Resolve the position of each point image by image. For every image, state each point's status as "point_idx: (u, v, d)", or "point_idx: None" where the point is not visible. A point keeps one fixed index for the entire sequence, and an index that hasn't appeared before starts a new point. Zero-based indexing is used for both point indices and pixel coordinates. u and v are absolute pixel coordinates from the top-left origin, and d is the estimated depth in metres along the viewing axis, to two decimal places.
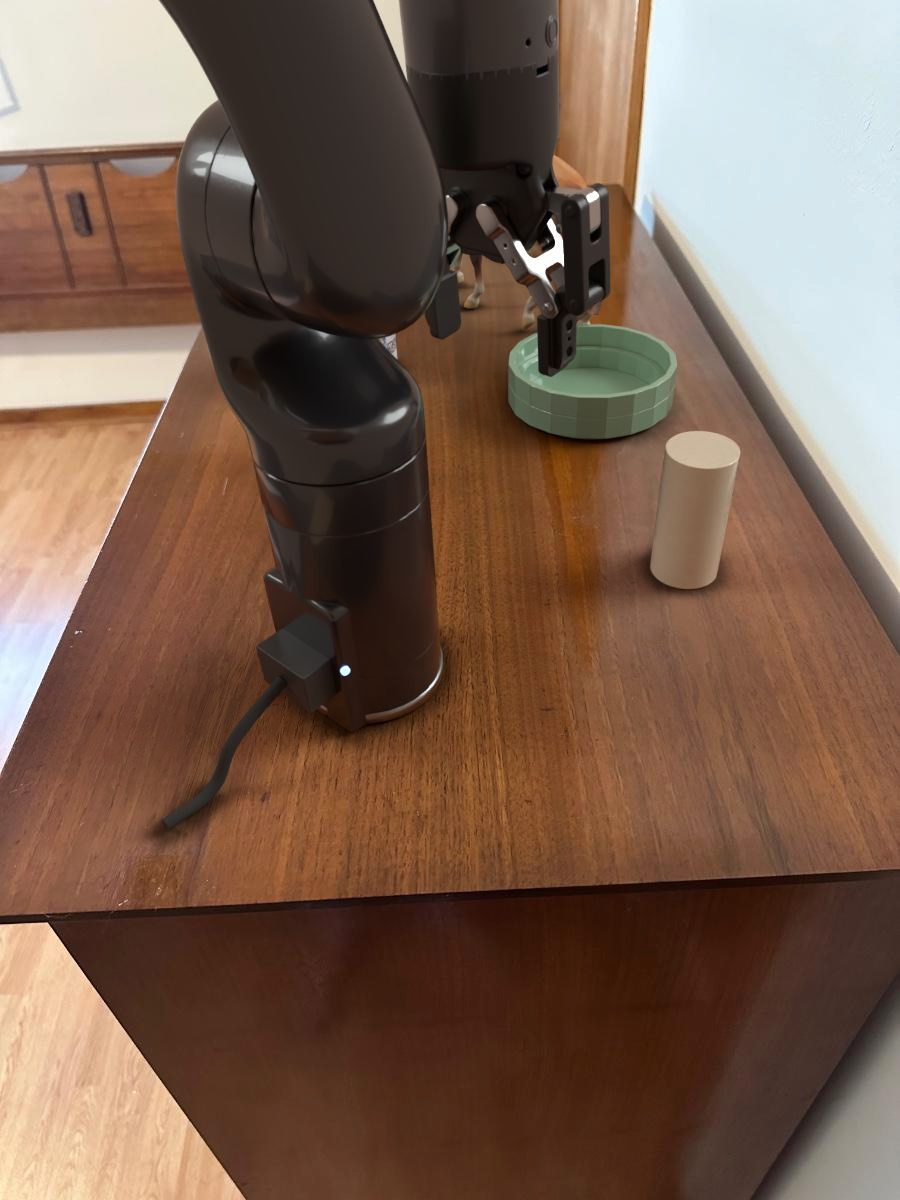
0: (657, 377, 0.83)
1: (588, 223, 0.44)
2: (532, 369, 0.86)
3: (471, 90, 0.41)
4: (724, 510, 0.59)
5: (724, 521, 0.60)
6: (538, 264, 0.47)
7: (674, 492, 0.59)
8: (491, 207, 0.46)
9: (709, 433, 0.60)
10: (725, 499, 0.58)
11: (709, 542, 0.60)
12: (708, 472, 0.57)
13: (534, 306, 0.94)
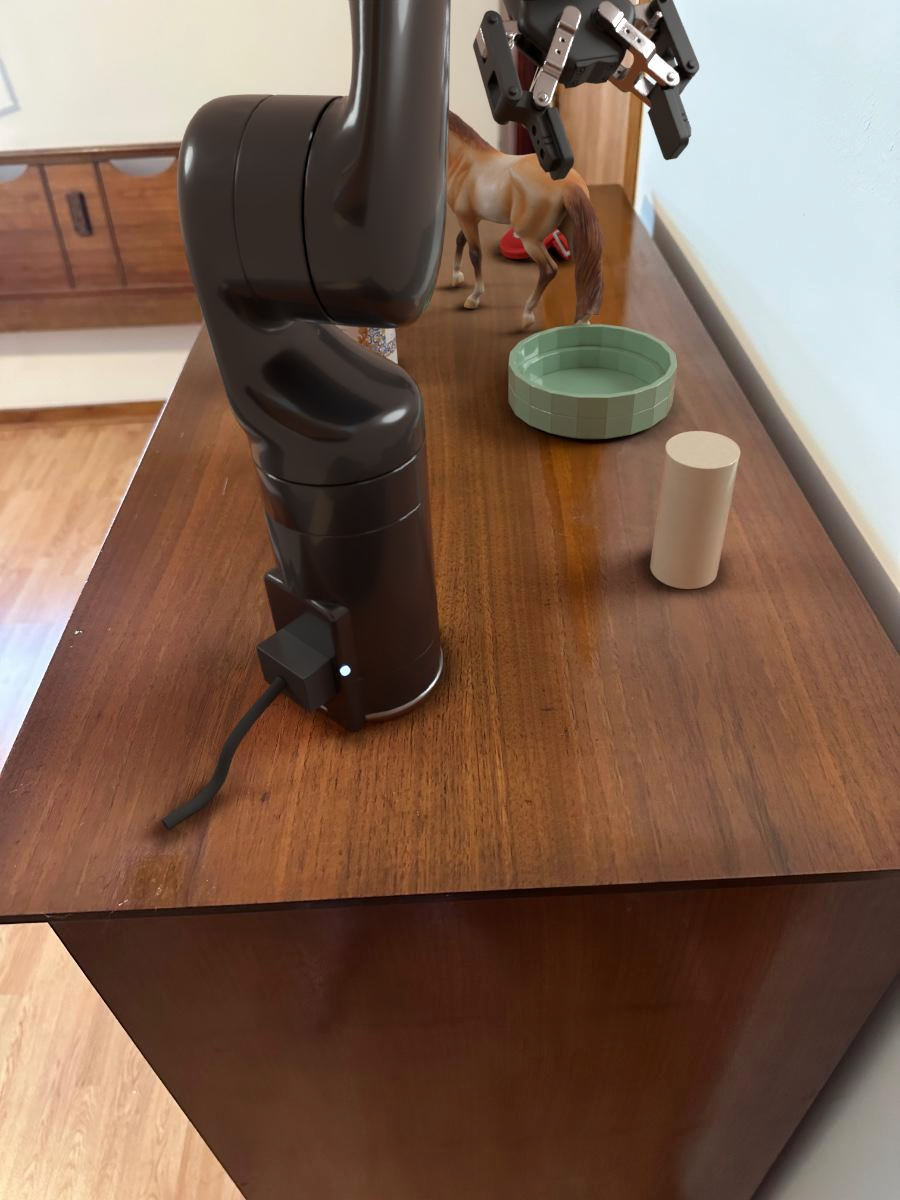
0: (657, 377, 0.83)
1: None
2: (532, 369, 0.86)
3: None
4: (724, 510, 0.59)
5: (724, 521, 0.60)
6: None
7: (674, 492, 0.59)
8: (609, 3, 0.56)
9: (709, 433, 0.60)
10: (725, 499, 0.58)
11: (709, 542, 0.60)
12: (708, 472, 0.57)
13: (534, 306, 0.94)
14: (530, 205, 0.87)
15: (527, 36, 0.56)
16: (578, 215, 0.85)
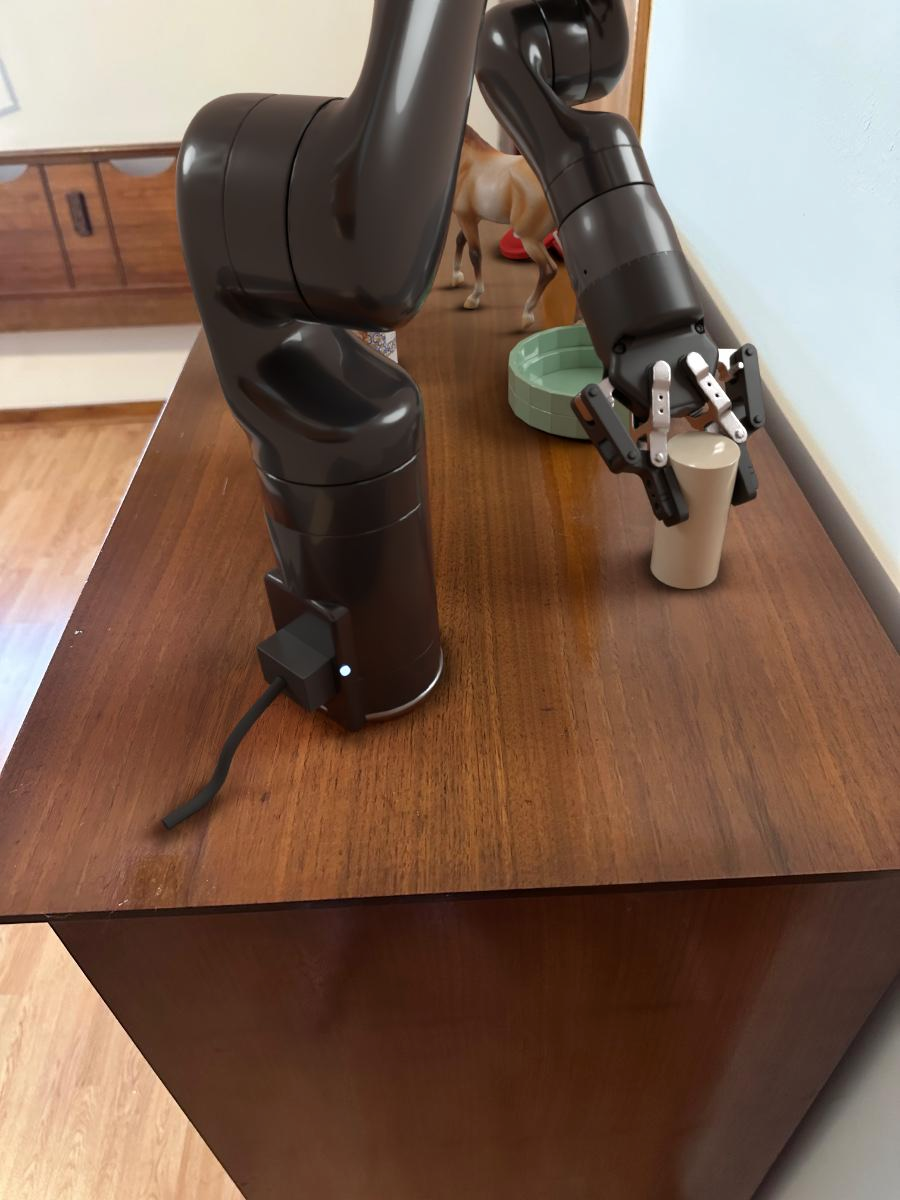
0: None
1: None
2: (532, 369, 0.86)
3: (682, 261, 0.58)
4: (724, 510, 0.59)
5: (724, 521, 0.60)
6: None
7: None
8: (698, 355, 0.59)
9: (709, 433, 0.60)
10: (725, 499, 0.58)
11: (709, 542, 0.60)
12: (708, 472, 0.57)
13: (534, 306, 0.94)
14: (530, 205, 0.87)
15: (618, 387, 0.58)
16: None
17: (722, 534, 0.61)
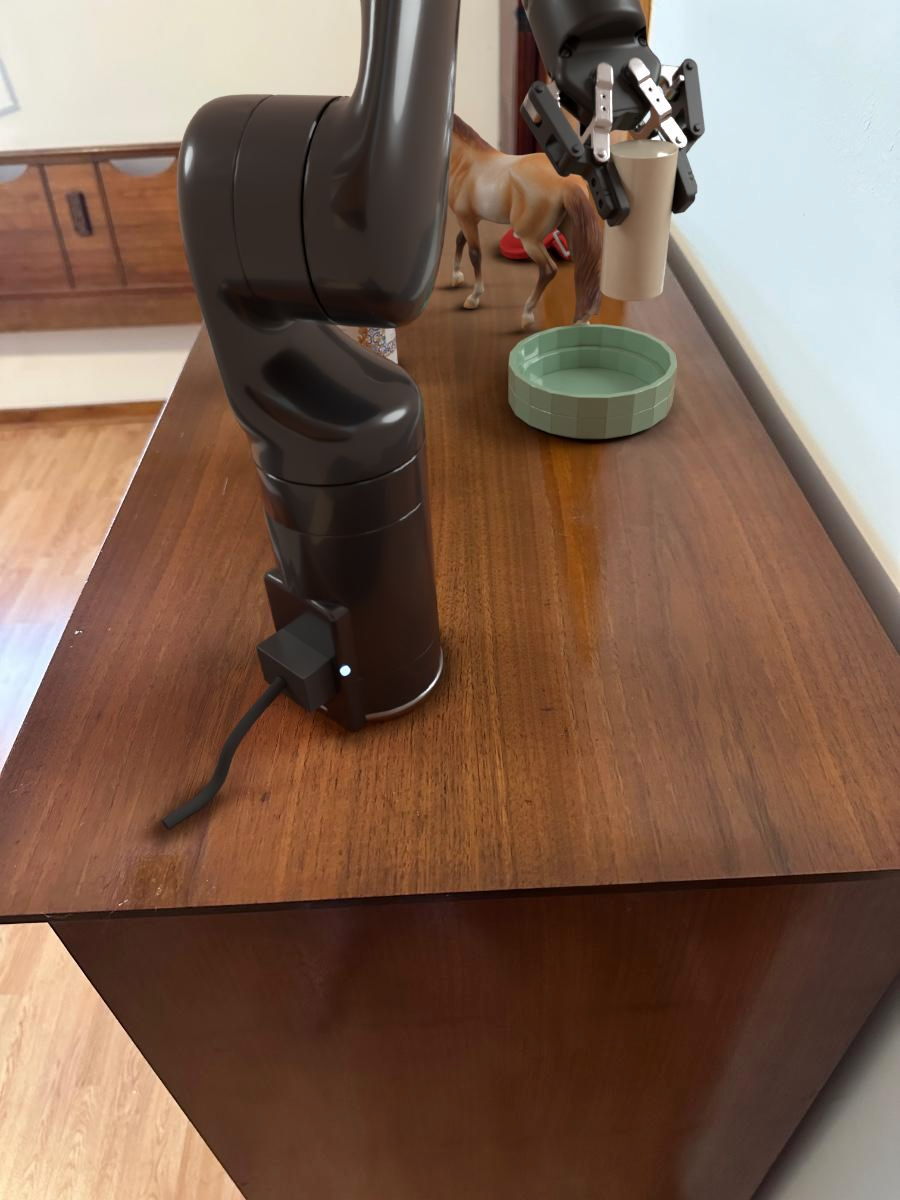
0: (657, 377, 0.83)
1: None
2: (532, 369, 0.86)
3: None
4: (664, 211, 0.63)
5: (665, 224, 0.64)
6: None
7: None
8: (640, 61, 0.62)
9: (651, 140, 0.63)
10: (665, 196, 0.62)
11: (651, 246, 0.64)
12: (647, 162, 0.60)
13: (533, 306, 0.94)
14: (529, 206, 0.87)
15: (564, 90, 0.62)
16: (578, 215, 0.85)
17: (664, 240, 0.65)
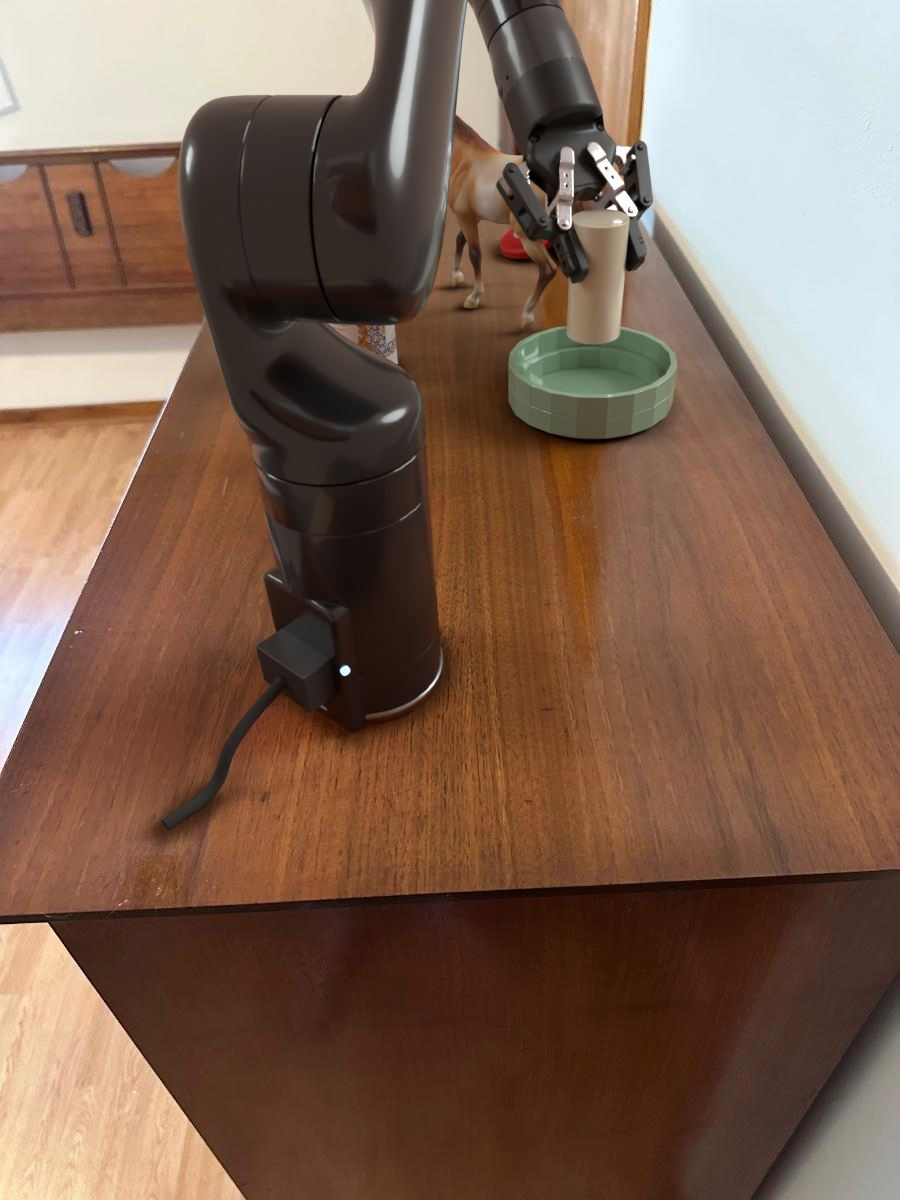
0: (657, 377, 0.83)
1: None
2: (532, 369, 0.86)
3: (583, 67, 0.73)
4: (618, 270, 0.74)
5: (620, 281, 0.75)
6: None
7: None
8: (597, 144, 0.74)
9: (607, 210, 0.75)
10: (618, 258, 0.74)
11: (608, 299, 0.76)
12: (602, 230, 0.72)
13: (533, 306, 0.94)
14: None
15: (533, 169, 0.73)
16: None
17: (619, 294, 0.76)
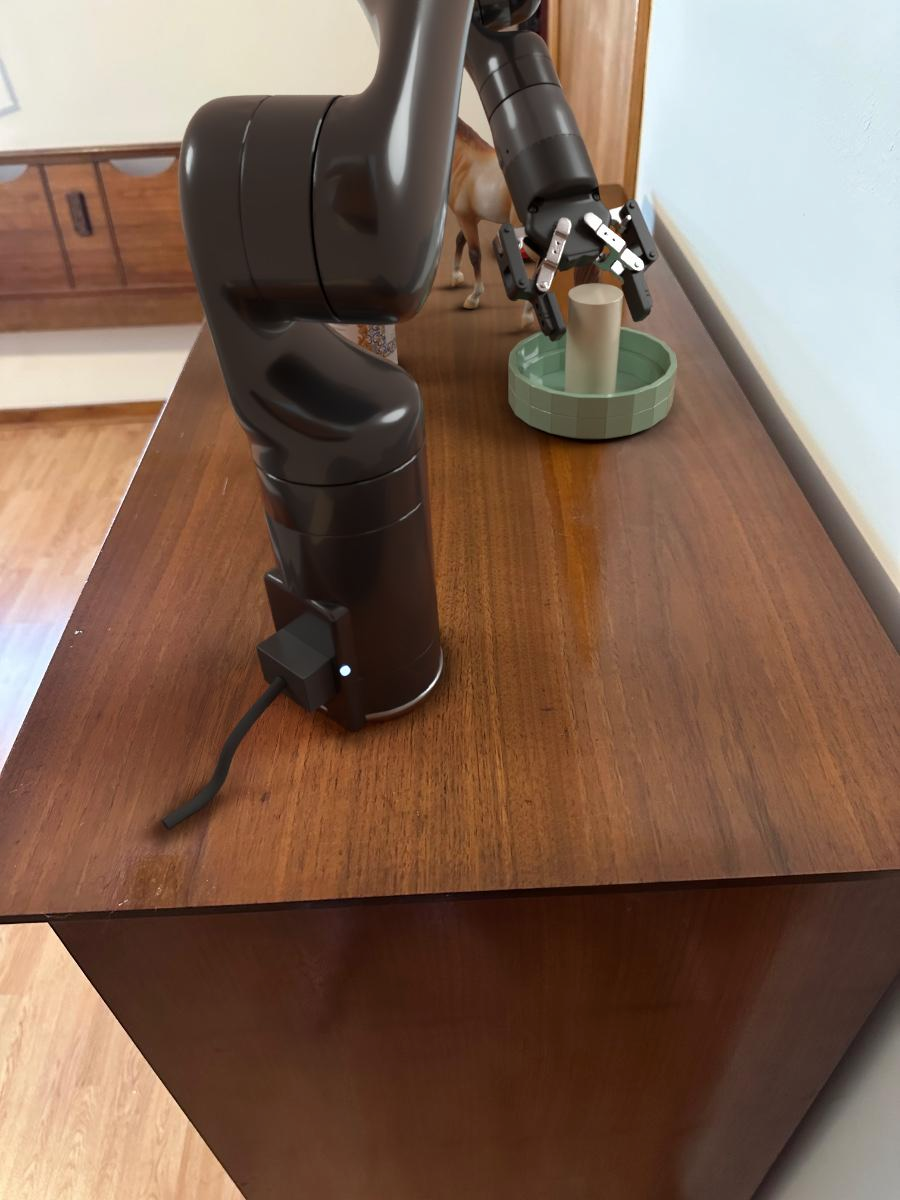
0: (657, 377, 0.83)
1: None
2: (532, 369, 0.86)
3: (580, 142, 0.76)
4: (613, 341, 0.79)
5: (614, 351, 0.79)
6: None
7: (575, 326, 0.78)
8: (592, 214, 0.77)
9: (602, 284, 0.79)
10: (613, 331, 0.78)
11: (603, 368, 0.80)
12: (597, 307, 0.76)
13: None
14: None
15: (532, 238, 0.77)
16: None
17: (613, 363, 0.80)
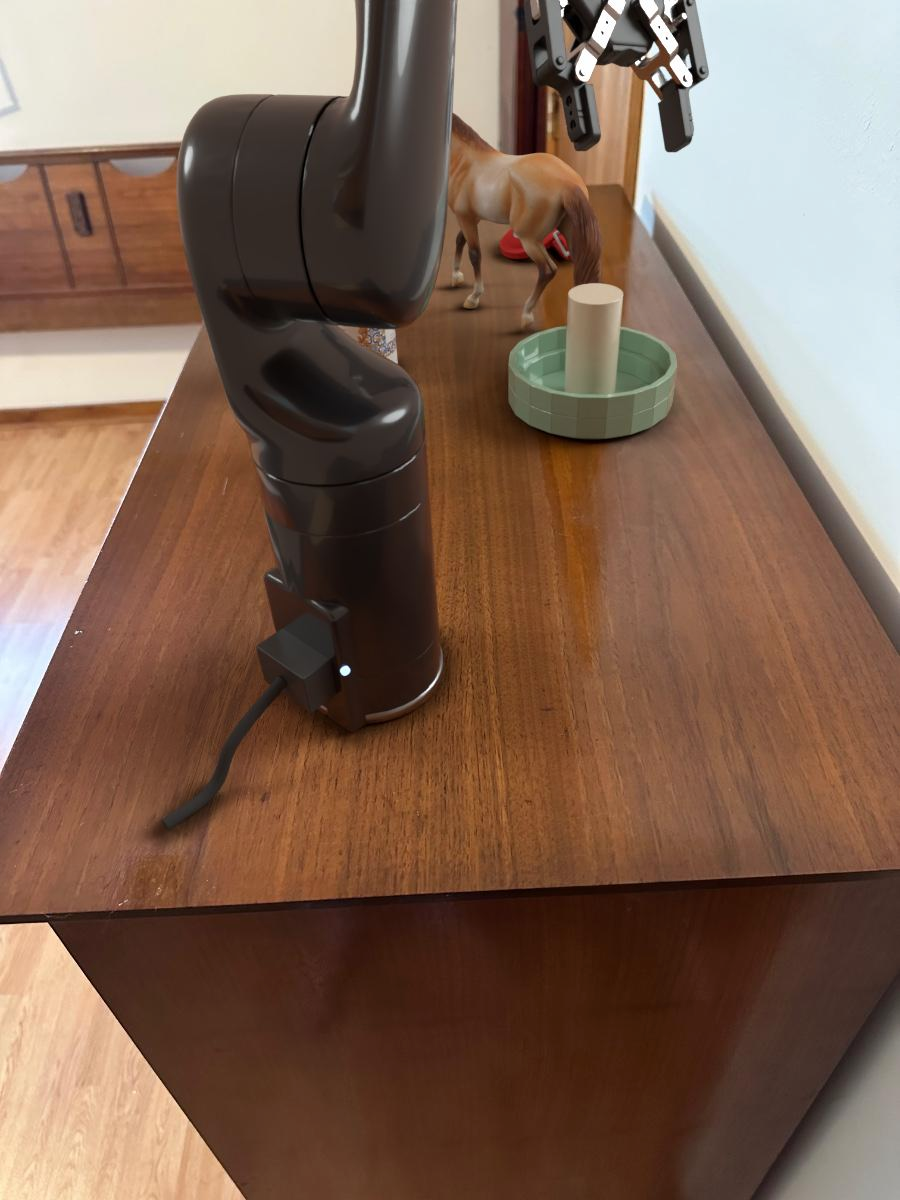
0: (657, 377, 0.83)
1: None
2: (532, 369, 0.86)
3: None
4: (613, 341, 0.79)
5: (614, 351, 0.79)
6: None
7: (575, 326, 0.78)
8: None
9: (602, 284, 0.79)
10: (613, 331, 0.78)
11: (603, 368, 0.80)
12: (597, 307, 0.76)
13: (533, 306, 0.94)
14: (529, 206, 0.87)
15: (575, 9, 0.61)
16: (577, 216, 0.85)
17: (613, 363, 0.80)
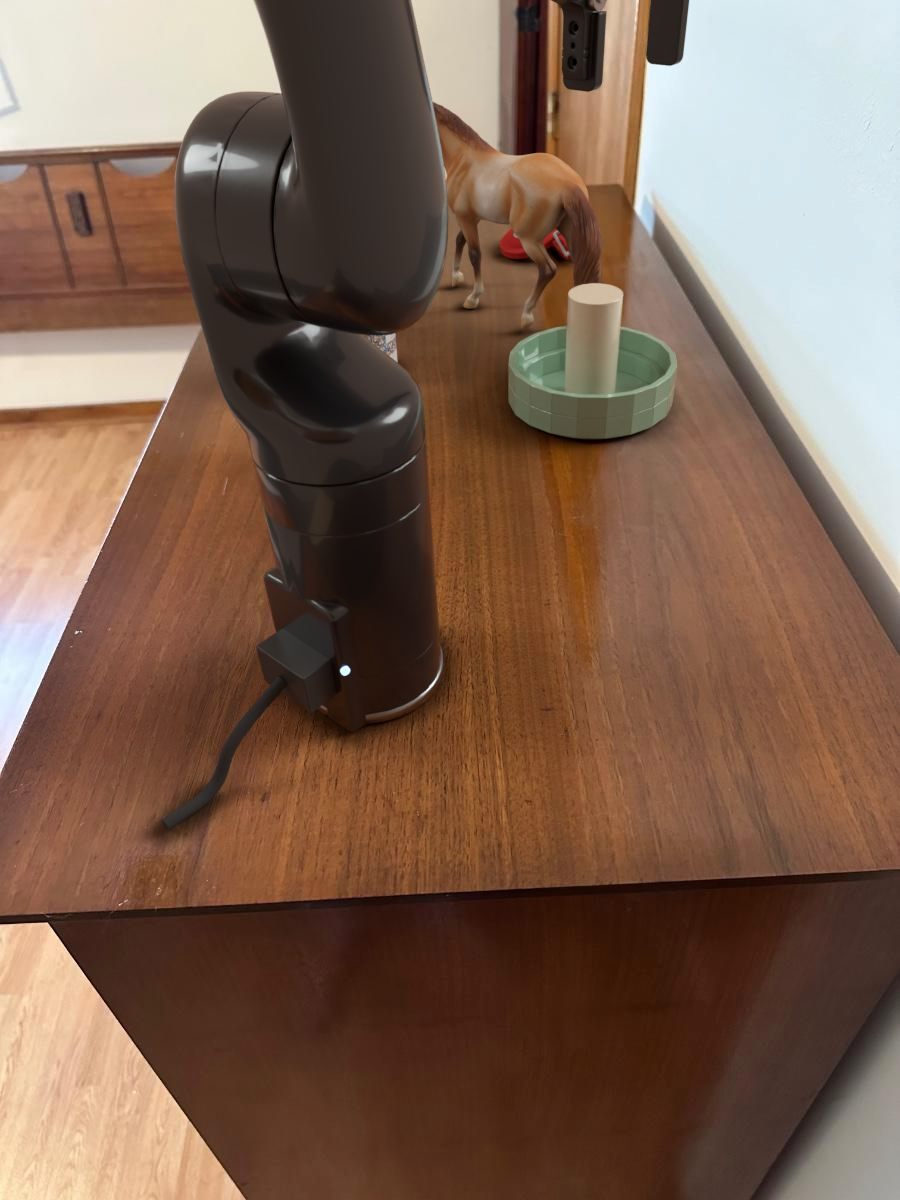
0: (657, 377, 0.83)
1: None
2: (532, 369, 0.86)
3: None
4: (613, 341, 0.79)
5: (614, 351, 0.79)
6: None
7: (575, 326, 0.78)
8: None
9: (602, 284, 0.79)
10: (613, 331, 0.78)
11: (603, 368, 0.80)
12: (597, 307, 0.76)
13: (533, 306, 0.94)
14: (529, 206, 0.87)
15: None
16: (577, 215, 0.85)
17: (613, 363, 0.80)
